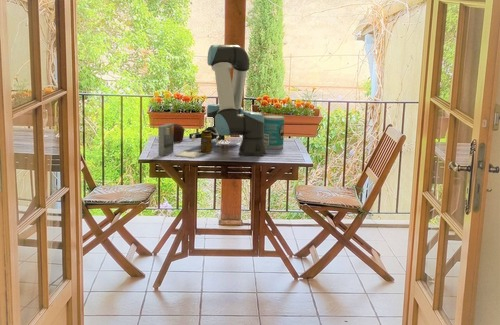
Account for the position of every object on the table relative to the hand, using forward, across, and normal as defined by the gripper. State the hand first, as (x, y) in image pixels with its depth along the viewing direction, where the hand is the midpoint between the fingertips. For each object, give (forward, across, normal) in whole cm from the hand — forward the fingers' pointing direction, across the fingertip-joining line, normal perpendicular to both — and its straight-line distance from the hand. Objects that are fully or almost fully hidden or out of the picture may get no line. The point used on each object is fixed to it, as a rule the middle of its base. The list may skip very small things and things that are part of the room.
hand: (204, 139), depth 401 cm
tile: (+12, +6, -7) cm, 15 cm away
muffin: (-30, +22, -7) cm, 38 cm away
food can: (-23, -37, -7) cm, 44 cm away
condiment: (+1, 0, -7) cm, 7 cm away
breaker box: (+12, +19, -7) cm, 24 cm away
